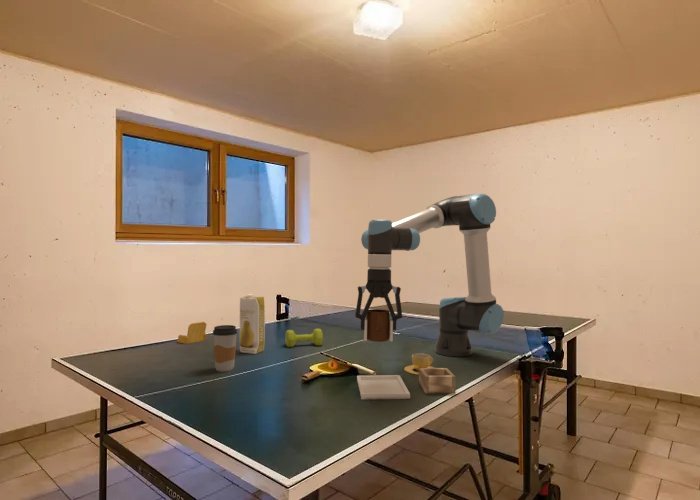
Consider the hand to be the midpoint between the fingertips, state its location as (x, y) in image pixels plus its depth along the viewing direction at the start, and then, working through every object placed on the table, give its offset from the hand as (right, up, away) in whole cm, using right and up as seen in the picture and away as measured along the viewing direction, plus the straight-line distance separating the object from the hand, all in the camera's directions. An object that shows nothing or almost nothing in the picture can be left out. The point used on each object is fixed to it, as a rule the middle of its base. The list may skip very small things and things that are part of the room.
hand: (378, 340), depth 136 cm
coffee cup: (-53, -14, +16) cm, 57 cm away
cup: (+16, -15, +17) cm, 27 cm away
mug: (0, -1, 0) cm, 1 cm away
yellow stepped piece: (-82, -14, +61) cm, 103 cm away
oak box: (+18, -14, -4) cm, 23 cm away
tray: (+1, -14, -5) cm, 15 cm away
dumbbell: (-29, -14, +54) cm, 63 cm away
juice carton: (-50, -14, +42) cm, 66 cm away
